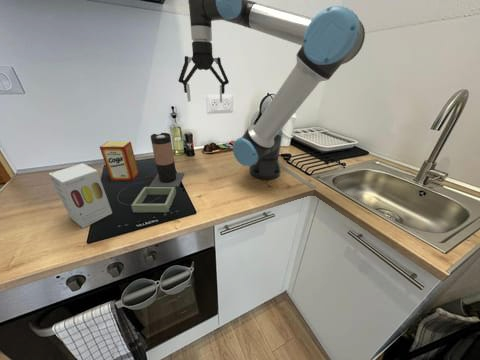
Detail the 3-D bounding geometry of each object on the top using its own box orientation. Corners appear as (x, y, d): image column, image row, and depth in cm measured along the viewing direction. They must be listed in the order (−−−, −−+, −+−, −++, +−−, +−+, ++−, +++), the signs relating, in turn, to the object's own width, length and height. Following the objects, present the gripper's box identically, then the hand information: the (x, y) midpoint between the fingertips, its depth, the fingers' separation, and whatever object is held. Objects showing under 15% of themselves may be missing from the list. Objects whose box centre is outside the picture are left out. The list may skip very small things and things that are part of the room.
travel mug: (171, 184, 85) (164, 139, 75) (155, 182, 86) (146, 137, 76) (179, 176, 91) (174, 133, 81) (164, 174, 92) (157, 131, 82)
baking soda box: (111, 180, 87) (99, 145, 79) (117, 173, 93) (107, 140, 85) (133, 180, 88) (123, 146, 80) (138, 173, 93) (130, 140, 85)
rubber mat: (184, 173, 94) (184, 172, 94) (178, 187, 84) (178, 186, 84) (158, 173, 94) (158, 172, 93) (149, 187, 83) (149, 186, 83)
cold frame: (176, 193, 80) (175, 186, 78) (168, 212, 70) (166, 205, 68) (145, 193, 79) (144, 186, 78) (133, 212, 69) (131, 205, 67)
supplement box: (82, 229, 61) (59, 182, 53) (69, 218, 65) (45, 173, 57) (113, 212, 68) (97, 169, 60) (99, 203, 73) (82, 162, 64)
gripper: (234, 44, 78) (233, 100, 89) (170, 41, 77) (177, 99, 88) (235, 42, 72) (234, 103, 82) (165, 39, 70) (173, 102, 81)
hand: (205, 101), depth 85 cm, fingers open, 13 cm apart
